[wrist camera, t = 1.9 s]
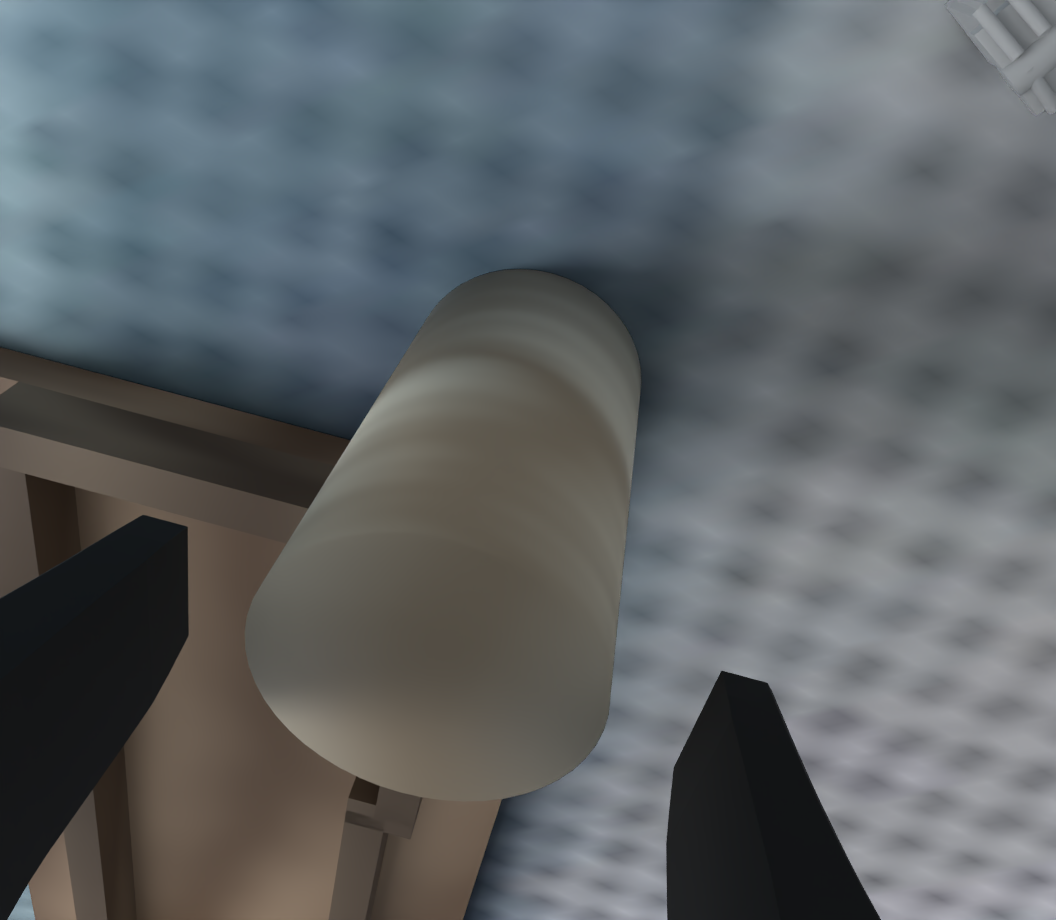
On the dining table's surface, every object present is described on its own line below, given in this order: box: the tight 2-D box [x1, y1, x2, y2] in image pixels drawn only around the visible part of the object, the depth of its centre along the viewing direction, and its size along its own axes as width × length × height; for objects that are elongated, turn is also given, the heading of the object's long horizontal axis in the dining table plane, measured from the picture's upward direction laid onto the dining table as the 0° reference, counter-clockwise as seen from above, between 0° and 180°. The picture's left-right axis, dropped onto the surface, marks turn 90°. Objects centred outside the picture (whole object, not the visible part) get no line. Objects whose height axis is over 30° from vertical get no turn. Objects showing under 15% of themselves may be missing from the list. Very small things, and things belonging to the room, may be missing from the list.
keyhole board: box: [0, 347, 502, 920], centre depth 24 cm, size 14×24×2 cm, turn 168°
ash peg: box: [245, 269, 641, 802], centre depth 14 cm, size 4×4×8 cm
